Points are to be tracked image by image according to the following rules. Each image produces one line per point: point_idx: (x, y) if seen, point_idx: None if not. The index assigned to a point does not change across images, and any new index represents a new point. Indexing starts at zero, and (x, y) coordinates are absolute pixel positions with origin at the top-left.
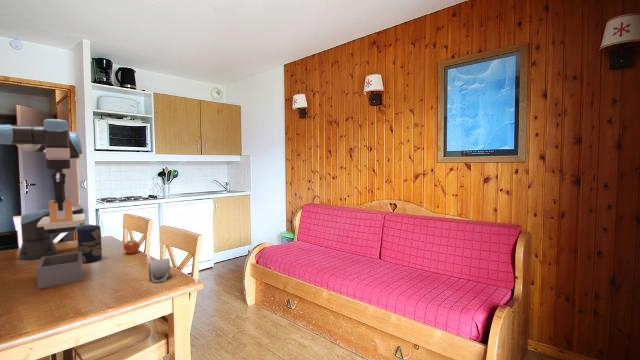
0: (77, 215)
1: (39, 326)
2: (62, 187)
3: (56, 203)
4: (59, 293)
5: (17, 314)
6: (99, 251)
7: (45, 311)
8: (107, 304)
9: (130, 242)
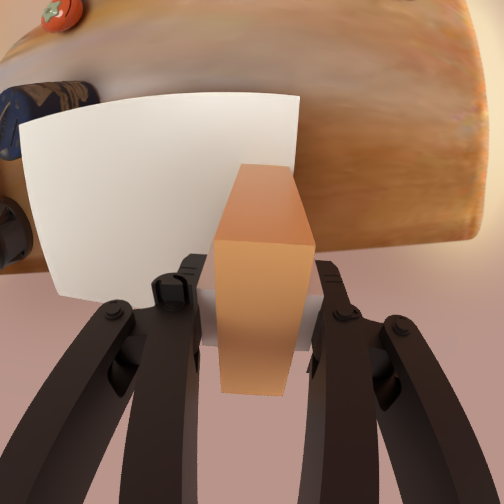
0: (60, 152)
1: (469, 205)
2: (481, 455)
3: (309, 341)
4: (342, 165)
5: (402, 231)
6: (75, 83)
7: (425, 194)
8: (466, 107)
9: (59, 10)
